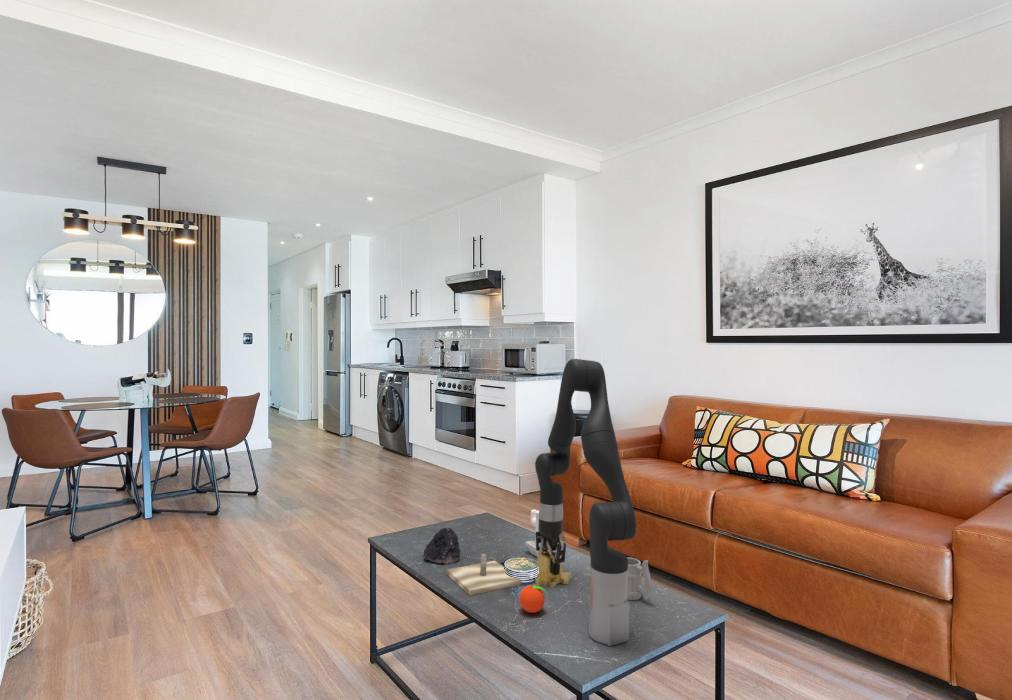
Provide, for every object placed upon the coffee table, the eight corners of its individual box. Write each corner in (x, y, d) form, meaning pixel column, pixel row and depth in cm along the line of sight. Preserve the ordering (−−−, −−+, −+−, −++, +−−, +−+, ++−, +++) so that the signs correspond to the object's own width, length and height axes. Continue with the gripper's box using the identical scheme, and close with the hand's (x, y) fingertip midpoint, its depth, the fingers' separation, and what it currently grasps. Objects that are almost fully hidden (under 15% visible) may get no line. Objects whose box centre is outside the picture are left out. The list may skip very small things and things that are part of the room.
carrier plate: (520, 584, 172) (521, 558, 172) (469, 595, 164) (470, 568, 164) (494, 565, 187) (495, 541, 187) (446, 574, 179) (447, 548, 179)
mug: (627, 587, 172) (628, 547, 172) (659, 601, 163) (660, 559, 163) (610, 593, 168) (611, 552, 168) (641, 608, 158) (642, 565, 158)
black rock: (435, 570, 183) (439, 540, 183) (413, 554, 194) (417, 525, 193) (468, 564, 192) (472, 535, 192) (446, 549, 202) (450, 521, 202)
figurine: (537, 560, 192) (538, 515, 192) (522, 551, 200) (524, 508, 200) (555, 556, 195) (556, 513, 195) (540, 548, 204) (541, 506, 204)
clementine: (549, 607, 157) (550, 581, 157) (547, 619, 151) (547, 592, 151) (520, 604, 159) (521, 579, 159) (517, 616, 152) (517, 589, 152)
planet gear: (576, 582, 175) (576, 557, 175) (543, 589, 169) (544, 563, 169) (554, 568, 185) (555, 545, 185) (523, 574, 180) (523, 550, 180)
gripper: (574, 521, 173) (572, 576, 173) (548, 509, 185) (547, 560, 185) (553, 525, 169) (552, 581, 169) (528, 512, 182) (527, 564, 182)
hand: (549, 570), depth 177 cm, fingers open, 6 cm apart
